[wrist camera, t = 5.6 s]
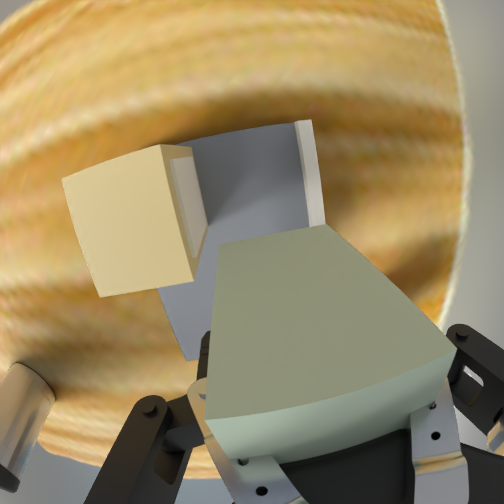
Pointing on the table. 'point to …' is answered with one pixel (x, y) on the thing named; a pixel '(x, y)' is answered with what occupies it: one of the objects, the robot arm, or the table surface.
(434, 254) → the table surface
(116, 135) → the table surface
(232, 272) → the tea box
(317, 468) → the robot arm
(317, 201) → the display board
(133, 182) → the mustard box
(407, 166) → the table surface
